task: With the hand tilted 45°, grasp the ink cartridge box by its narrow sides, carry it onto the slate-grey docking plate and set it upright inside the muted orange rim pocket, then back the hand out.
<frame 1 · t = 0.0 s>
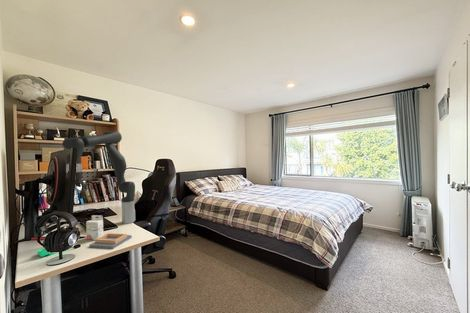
hand: (75, 198, 121), 29 cm above the table, tool pointing down, fingers open, 8 cm apart
dock: (111, 242, 127), on the table
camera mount: (53, 252, 116), on the table
ink cartridge box: (95, 238, 134), on the table
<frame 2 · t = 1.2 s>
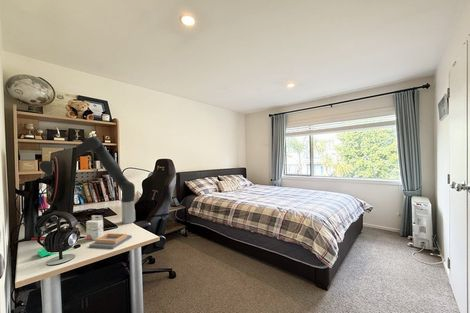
hand: (78, 200, 138), 25 cm above the table, tool tilted 45°, fingers open, 8 cm apart
nothing on the table moved.
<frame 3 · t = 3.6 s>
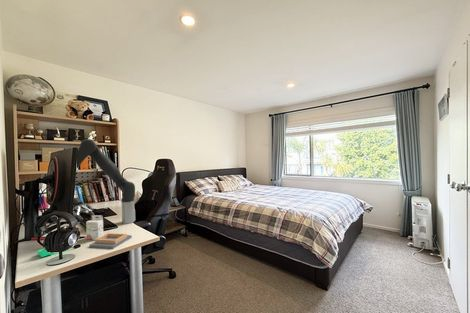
hand: (87, 218, 135), 13 cm above the table, tool tilted 45°, fingers open, 8 cm apart
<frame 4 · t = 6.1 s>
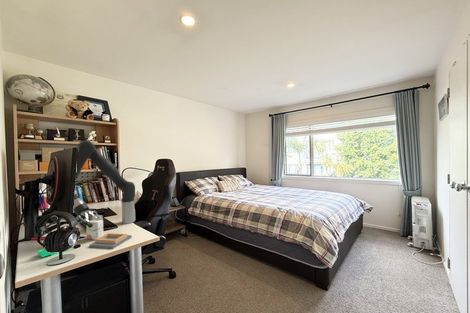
hand: (95, 225, 134), 9 cm above the table, tool tilted 45°, fingers closed on ink cartridge box, 5 cm apart
ink cartridge box: (95, 238, 134), on the table, touching gripper
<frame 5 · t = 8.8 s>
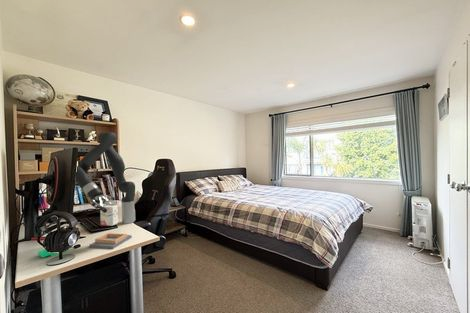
hand: (109, 210, 127), 20 cm above the table, tool tilted 45°, fingers closed on ink cartridge box, 5 cm apart
ink cartridge box: (109, 224, 128), point 11 cm above the table, touching gripper
when the fingers open (11 cm above the table, at t = 11.8 s): ink cartridge box drops 1 cm, resting on dock.
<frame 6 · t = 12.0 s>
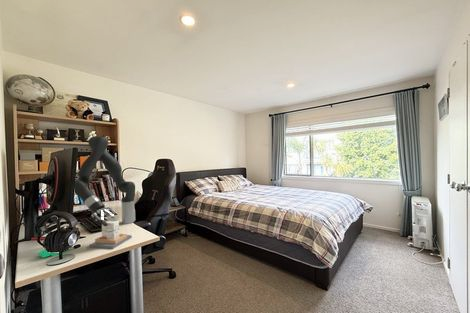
hand: (111, 223, 127), 12 cm above the table, tool tilted 45°, fingers open, 6 cm apart
ink cartridge box: (110, 240, 127), point 1 cm above the table, touching dock
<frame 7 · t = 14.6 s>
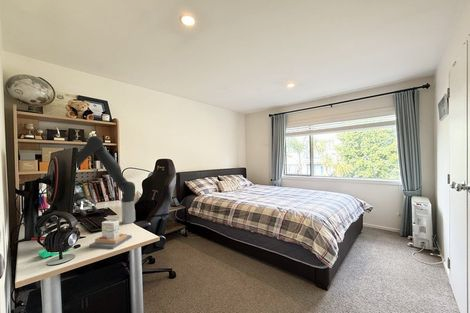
hand: (91, 212, 133), 17 cm above the table, tool tilted 45°, fingers open, 8 cm apart
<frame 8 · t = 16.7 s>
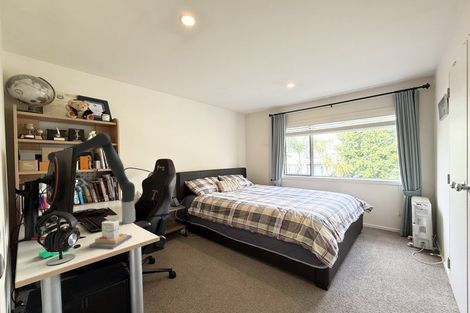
hand: (85, 190, 140), 31 cm above the table, tool tilted 45°, fingers open, 8 cm apart
at the end: ink cartridge box 0.4 cm off-centre on the dock, point 1.3 cm above the dock's base; ink cartridge box tilted 0°; the gripper is holding nothing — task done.
